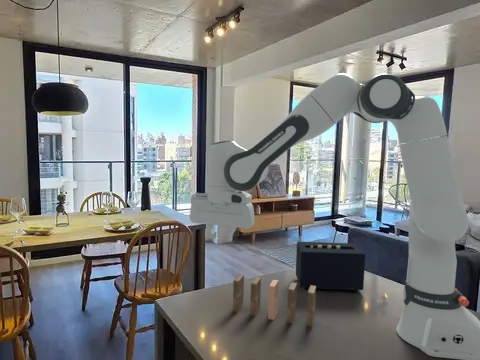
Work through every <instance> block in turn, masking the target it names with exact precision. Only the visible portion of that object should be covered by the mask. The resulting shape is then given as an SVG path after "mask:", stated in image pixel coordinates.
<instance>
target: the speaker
mask: <svg viewBox="0 0 480 360" xmlns="http://www.w3.org/2000/svg"><path fill="white" fill-rule="evenodd" d="M295 256H296V257H295V258H296V259H295V276H296V279H297V282H298V286H299V288H302V289H304V290H305V291H309V288H310V285H312V286H316V289H322V290H323V289H325V290H326V289H327V290H347V291H348V290H350V291H351V292H353V293H356V292H357V291H362V290H364V284H365V266H366V253H365V252H363V251H362V250H361V249H360V248H359V247H358V245H356V244H355V243H354V242H352V243H350V242H349V243H348V242H325V241H324V242H323V241H322V242H321V241H297V242H296V255H295Z"/></svg>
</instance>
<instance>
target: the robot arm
mask: <svg viewBox="0 0 480 360" xmlns="http://www.w3.org/2000/svg"><path fill="white" fill-rule="evenodd" d="M351 113H352V114H354V115H355V116H358V117H359V118H361V119H362V120H364V121H366V122H367V123H371V124H381V123H384V122H387V121H388V122H390V123H391V124H392V125H393V126H394V128H395V130H396V133H397V138H398V144H399V146H398V147H399V152H400V156H401V161H402V168H403V174H404V178H405V181H406V185H407V188H408V192H409V197H410V203H409V209H408V258H407V261H408V262H407V271H406V272H407V273H406V280H405V281H404V286H403V296H402V300H403V305H402V306H403V307H402V312H401V315H400V319H399V321H398V324H397V326H396V328H395V329H396V333H397V334H398V336H399V337H400V338H401V339H403V340H404V341H405V342H407V343H408V344H410V345H412V346H413V347H416V348H418V349H420V350H421V351H422V352H423V353H425V354H426V355H428V356H430V357H435V358H445V359H452V360H453V359H454V360H480V320H479V318H478V317H477V316H475V314H473V313H472V312H471V311H469V310H468V309H467V308H466V307H468V306H469V304H470V301H469V300H468V299H467V297H466V296H464V295H463V293H462V292H460V291H459V290H458V288H456V287H455V286H456V277H457V276H456V275H457V267H458V266H457V263H458V259H457V252H456V243H455V242H456V241H457V240H460V239H461V238H462V237H463V236H465V234H466V232H467V231H468V228H469V217H468V216H469V215H468V213H467V210H466V207H465V202H464V199H463V196H462V195H463V194H462V191H461V188H460V184H459V182H458V179H457V176H456V172H455V170H454V164H453V160H452V154H451V150H450V148H451V147H450V143H449V138H448V137H449V136H448V131H447V127H446V123H445V121H444V120H445V119H444V117H443V114H442V111H441V109H440V107H439V104H438V102H437V101H436V100H435V99H434V98H433V97H430V96H423V95H419V96H416V95H415V93H414V92H413V91H412V90H411V89H410V88H409V86H407V85H406V83H405V82H404V81H403V80H402V79H401V78H400V77H398V76H397V75H395V74H391V73H380V74H377V75H375V76H372V77H371V78H369V79H368V80H367V81H366V82H365V83H359V82H358V81H356V79H355V78H354V77H352V76H351V75H350V74H347V73H345V72H342V73H341V72H340V73H336V74H335V75H333V76H331V77H329V78H328V79H326V80H325V81H323V82H322V83H321V84H319V85H317V86H316V87H315V88H314V89H313V90H312V91H310V92H309V93H308V94H307V95H306V96H305V97H303V98H302V99H301V100H300V102H299V103H297V105H295V107H294V108H293V109H292V110H291V111H290V113H289V114H288V115H287V116H286V117H285V118H284V119H283V121H282V122H281V123H280V124H279V125H278V126H277V127H276V128H274V129H273V130H272V131H271V132H270V133H268V134H267V135H266V136H265V137H263V139H262V140H259V142H257V144H255V145H253V147H252V148H250V149H246V148H244V147H242V146H241V145H239V144H238V143H237V142H236V141H235V140H222V141H216V142H214V143H212V145H210V147H209V151H208V158H207V173H208V180H207V187H206V188H207V189H206V191H207V193H205V192H203V193H201V192H195V193H193V194H192V195H191V197H190V204H191V206H190V210H189V220H190V222H191V223H194V224H203V225H206V229H207V231H208V232H209V239H212V240H215V239H216V238H217V231H215V230H214V228H213V227H214V226H221V227H229V230H230V232H229V233H227V234H226V235H225V240H226V241H228V242H231V241H233V235H234V233H235V232H236V230H237V228H241V229H247V230H249V229H251V228H252V227H253V226H254V225H255V209H254V205H253V203H251V201H252V199H253V196H252V194H250V193H249V192H246V191H250V190H252V189H253V188H254V187H256V186H257V185H259V184H260V183H262V182H263V181H264V180H265V179H266V178H267V177H268V175H269V171H270V165H271V164H272V163H274V162H275V161H276V160H277V159H279V158H280V157H281V156H282V155H283V154H285V153H286V152H287V151H288V150H289V149H291V148H292V147H294V146H296V145H298V144H301V143H303V142H306V141H311V140H312V139H313V140H314V139H315V138H317V137H318V136H321V135H322V134H324V133H325V132H327V131H329V130H330V129H331V128H332V127H334V126H335V125H336V124H338V123H339V121H340V120H342V119H343V118H344V117H346V116H347V115H349V114H351Z"/></svg>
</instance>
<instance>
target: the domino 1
mask: <svg viewBox="0 0 480 360" xmlns="http://www.w3.org/2000/svg"><path fill="white" fill-rule="evenodd" d="M232 284H233V285H232V286H233V287H232V288H233V289H232V290H233V291H232V293H233V294H232V312H233V313H236V314H239V312H240V311H241V309H242V308H243V307H244V295H245V294H244V290H245V285H244V284H245V275H244V274H238V275H237V276H236V277H235V278H234V279H233V283H232Z"/></svg>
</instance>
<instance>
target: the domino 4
mask: <svg viewBox="0 0 480 360" xmlns="http://www.w3.org/2000/svg"><path fill="white" fill-rule="evenodd" d="M297 290H298V283H297V282H291V283H290V284H289V287H288V288H287V307H286V308H287V309H286V311H287V312H286V313H287V314H286V323H287V324H294V321H295V318H296V315H297V293H298V292H297Z"/></svg>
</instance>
